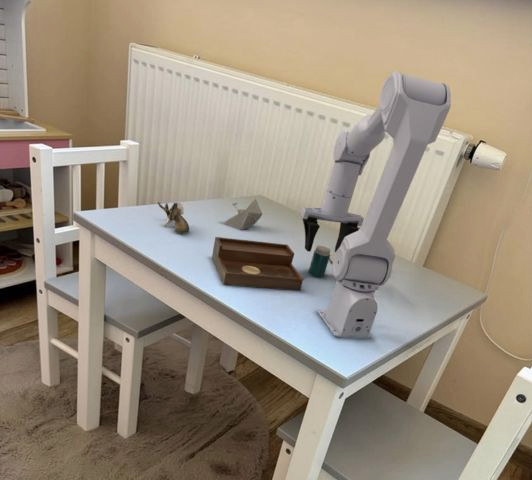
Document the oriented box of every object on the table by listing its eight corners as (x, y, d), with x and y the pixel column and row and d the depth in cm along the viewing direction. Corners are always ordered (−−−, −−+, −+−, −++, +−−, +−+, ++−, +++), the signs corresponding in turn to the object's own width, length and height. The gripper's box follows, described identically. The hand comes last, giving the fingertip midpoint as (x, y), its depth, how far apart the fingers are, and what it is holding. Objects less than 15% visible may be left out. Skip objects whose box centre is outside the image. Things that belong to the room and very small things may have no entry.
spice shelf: (300, 290, 111) (306, 268, 108) (223, 284, 105) (227, 261, 102) (282, 265, 121) (287, 244, 118) (211, 258, 115) (215, 236, 112)
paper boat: (236, 229, 132) (213, 207, 135) (238, 243, 138) (216, 223, 141) (271, 204, 135) (248, 183, 138) (270, 219, 141) (248, 200, 144)
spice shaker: (326, 278, 120) (334, 252, 117) (311, 277, 119) (318, 251, 115) (320, 271, 123) (327, 246, 120) (306, 270, 122) (313, 244, 118)
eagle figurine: (148, 215, 126) (162, 222, 119) (164, 191, 126) (179, 196, 119) (171, 232, 131) (186, 240, 124) (187, 209, 131) (202, 215, 124)
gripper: (361, 191, 116) (343, 247, 123) (302, 182, 111) (288, 241, 118) (374, 202, 111) (355, 259, 118) (314, 193, 106) (297, 253, 113)
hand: (322, 251), depth 118 cm, fingers open, 7 cm apart
